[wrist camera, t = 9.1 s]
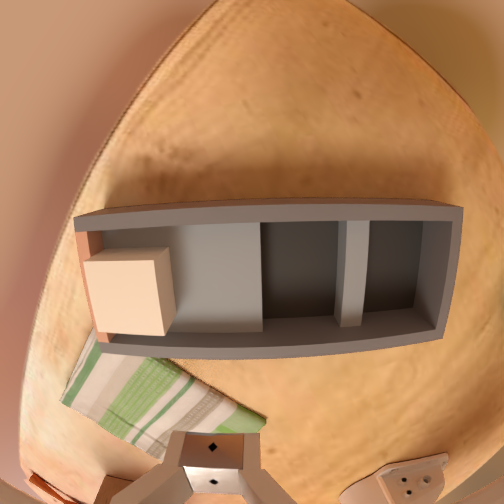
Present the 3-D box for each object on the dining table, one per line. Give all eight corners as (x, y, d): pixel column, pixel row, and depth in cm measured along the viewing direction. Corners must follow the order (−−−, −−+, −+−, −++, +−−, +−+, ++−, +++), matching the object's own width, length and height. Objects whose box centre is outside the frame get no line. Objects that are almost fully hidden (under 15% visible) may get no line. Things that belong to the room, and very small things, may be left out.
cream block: (168, 246, 24) (153, 260, 20) (176, 313, 25) (164, 336, 21) (105, 248, 24) (82, 261, 20) (116, 311, 25) (98, 331, 22)
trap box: (431, 200, 25) (463, 207, 20) (418, 314, 29) (442, 338, 23) (103, 208, 26) (73, 217, 21) (122, 325, 29) (101, 352, 24)
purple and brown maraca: (28, 479, 38) (96, 525, 39) (38, 466, 44) (102, 511, 45) (25, 486, 38) (89, 530, 39) (34, 474, 44) (95, 517, 45)
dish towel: (103, 309, 29) (89, 324, 26) (269, 413, 33) (271, 434, 29) (65, 389, 33) (54, 403, 30) (198, 467, 36) (195, 484, 33)
